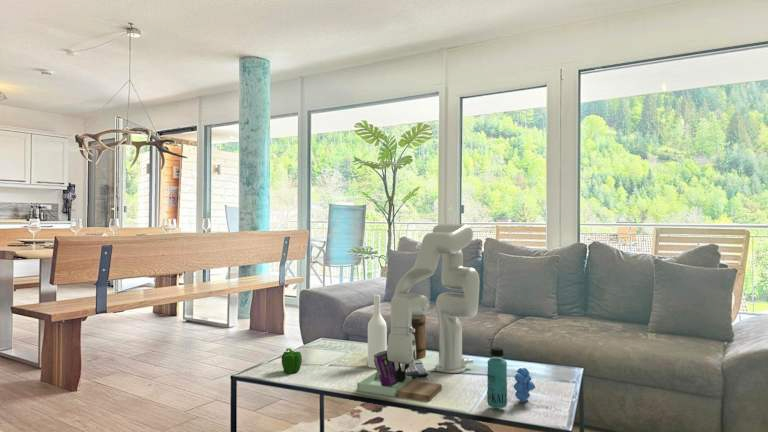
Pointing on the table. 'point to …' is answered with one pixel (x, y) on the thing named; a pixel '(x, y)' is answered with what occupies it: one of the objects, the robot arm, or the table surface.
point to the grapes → (523, 384)
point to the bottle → (376, 333)
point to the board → (419, 390)
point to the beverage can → (385, 369)
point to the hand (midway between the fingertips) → (401, 381)
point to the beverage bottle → (497, 380)
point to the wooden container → (419, 335)
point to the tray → (379, 386)
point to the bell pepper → (291, 361)
